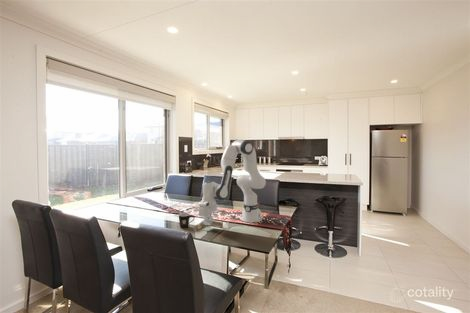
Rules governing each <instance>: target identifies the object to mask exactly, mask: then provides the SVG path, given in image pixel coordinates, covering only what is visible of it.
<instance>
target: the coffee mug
mask: <svg viewBox="0 0 470 313" xmlns="http://www.w3.org/2000/svg"><path fill="white" fill-rule="evenodd" d="M190 218H193V219H192V220H191V221H190ZM194 220H195V216H194V215H191V214H190V213H188V212H181V213H179V214H178V222H179V227H180V229H189V225H190V223H192V222H193V221H194Z"/></svg>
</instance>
